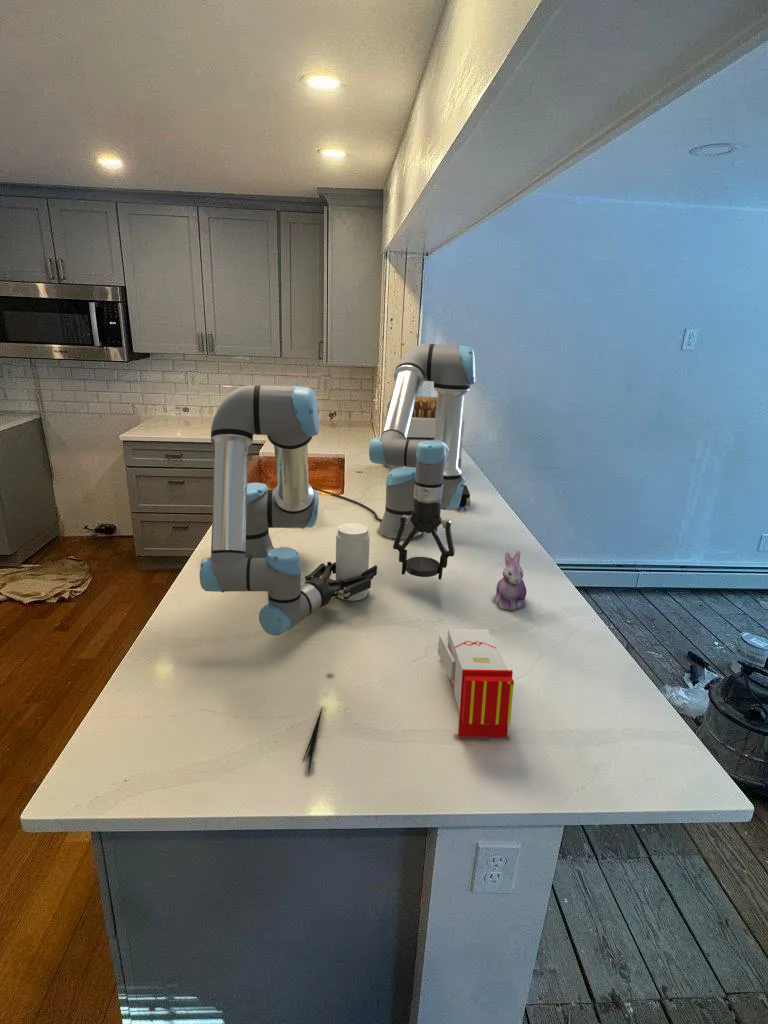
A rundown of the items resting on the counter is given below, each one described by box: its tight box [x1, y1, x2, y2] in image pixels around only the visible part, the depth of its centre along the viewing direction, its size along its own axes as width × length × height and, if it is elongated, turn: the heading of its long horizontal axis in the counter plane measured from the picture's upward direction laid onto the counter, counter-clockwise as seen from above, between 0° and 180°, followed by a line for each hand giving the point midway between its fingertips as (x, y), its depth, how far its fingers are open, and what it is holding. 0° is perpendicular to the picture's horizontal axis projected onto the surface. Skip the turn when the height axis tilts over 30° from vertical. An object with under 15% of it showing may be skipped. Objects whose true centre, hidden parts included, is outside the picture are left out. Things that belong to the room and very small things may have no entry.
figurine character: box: [456, 484, 471, 512], centre depth 229 cm, size 7×8×15 cm
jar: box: [335, 522, 371, 601], centre depth 154 cm, size 9×9×19 cm
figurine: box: [495, 550, 527, 611], centre depth 153 cm, size 9×10×15 cm
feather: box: [301, 673, 332, 771], centre depth 108 cm, size 2×28×2 cm
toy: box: [437, 628, 515, 738], centre depth 117 cm, size 12×13×30 cm
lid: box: [405, 556, 440, 578], centre depth 158 cm, size 10×10×2 cm
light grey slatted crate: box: [383, 395, 465, 472], centre depth 268 cm, size 34×33×41 cm
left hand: (361, 565), depth 159 cm, fingers closed on jar, 9 cm apart
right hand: (421, 574), depth 159 cm, fingers closed on lid, 10 cm apart
